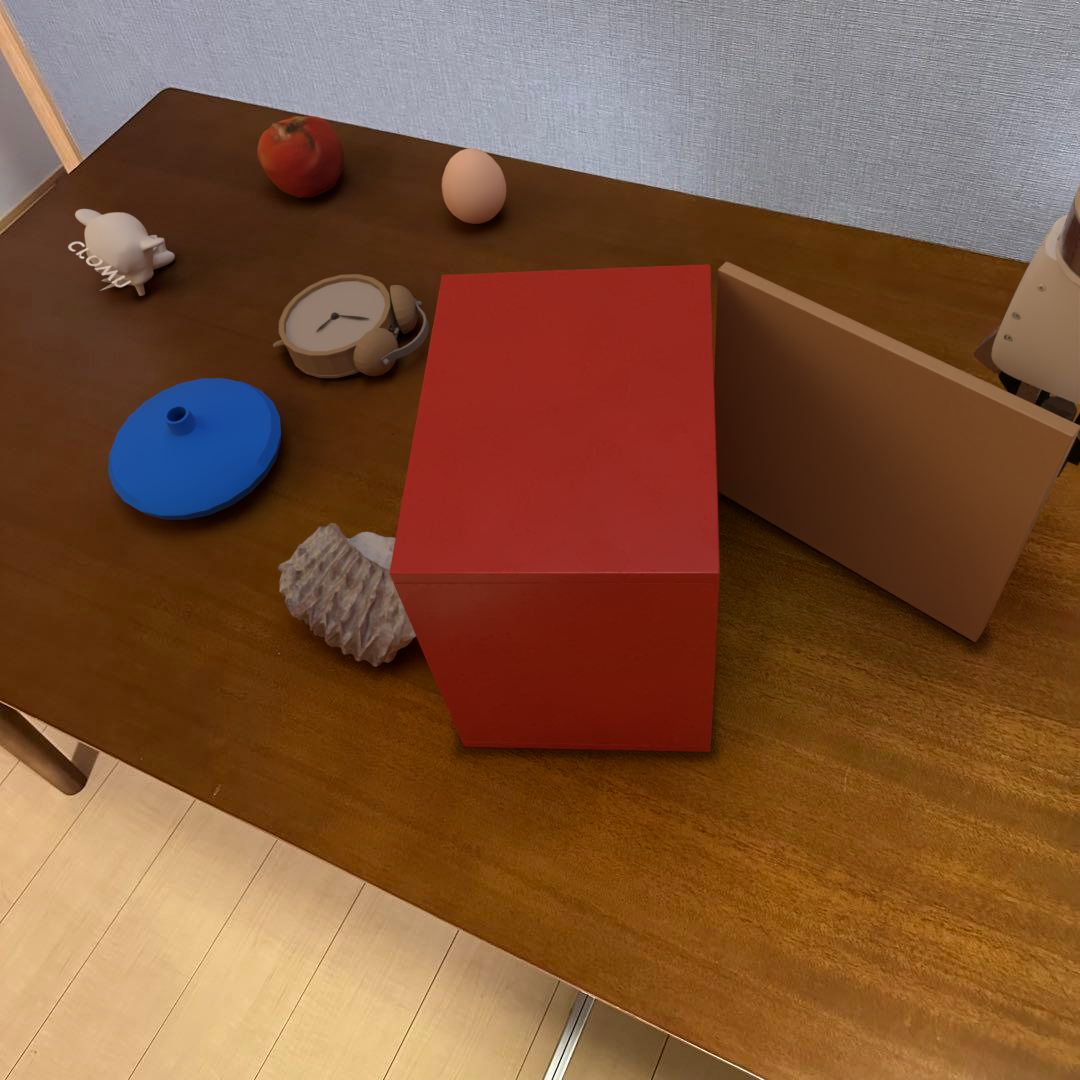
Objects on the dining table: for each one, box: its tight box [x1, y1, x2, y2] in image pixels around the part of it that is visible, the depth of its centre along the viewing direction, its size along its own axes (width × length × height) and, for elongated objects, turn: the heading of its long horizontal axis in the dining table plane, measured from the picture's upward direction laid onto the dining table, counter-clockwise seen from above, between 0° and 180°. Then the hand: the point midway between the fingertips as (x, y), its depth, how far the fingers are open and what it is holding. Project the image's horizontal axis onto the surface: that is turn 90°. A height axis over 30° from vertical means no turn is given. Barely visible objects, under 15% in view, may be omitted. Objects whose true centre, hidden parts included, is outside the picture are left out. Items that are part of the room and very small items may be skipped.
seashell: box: [277, 522, 417, 667], centre depth 82 cm, size 14×9×10 cm
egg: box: [441, 147, 507, 225], centre depth 108 cm, size 7×7×8 cm
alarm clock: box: [272, 273, 430, 379], centre depth 101 cm, size 11×5×15 cm
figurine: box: [67, 208, 176, 297], centre depth 109 cm, size 12×8×10 cm
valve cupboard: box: [389, 263, 721, 753], centre depth 73 cm, size 18×24×24 cm
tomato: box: [257, 115, 345, 199], centre depth 115 cm, size 9×9×8 cm
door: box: [714, 261, 1080, 643], centre depth 74 cm, size 8×24×24 cm, turn 48°
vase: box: [107, 377, 282, 521], centre depth 93 cm, size 16×16×7 cm
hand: (1042, 452), depth 71 cm, fingers closed on door, 2 cm apart
